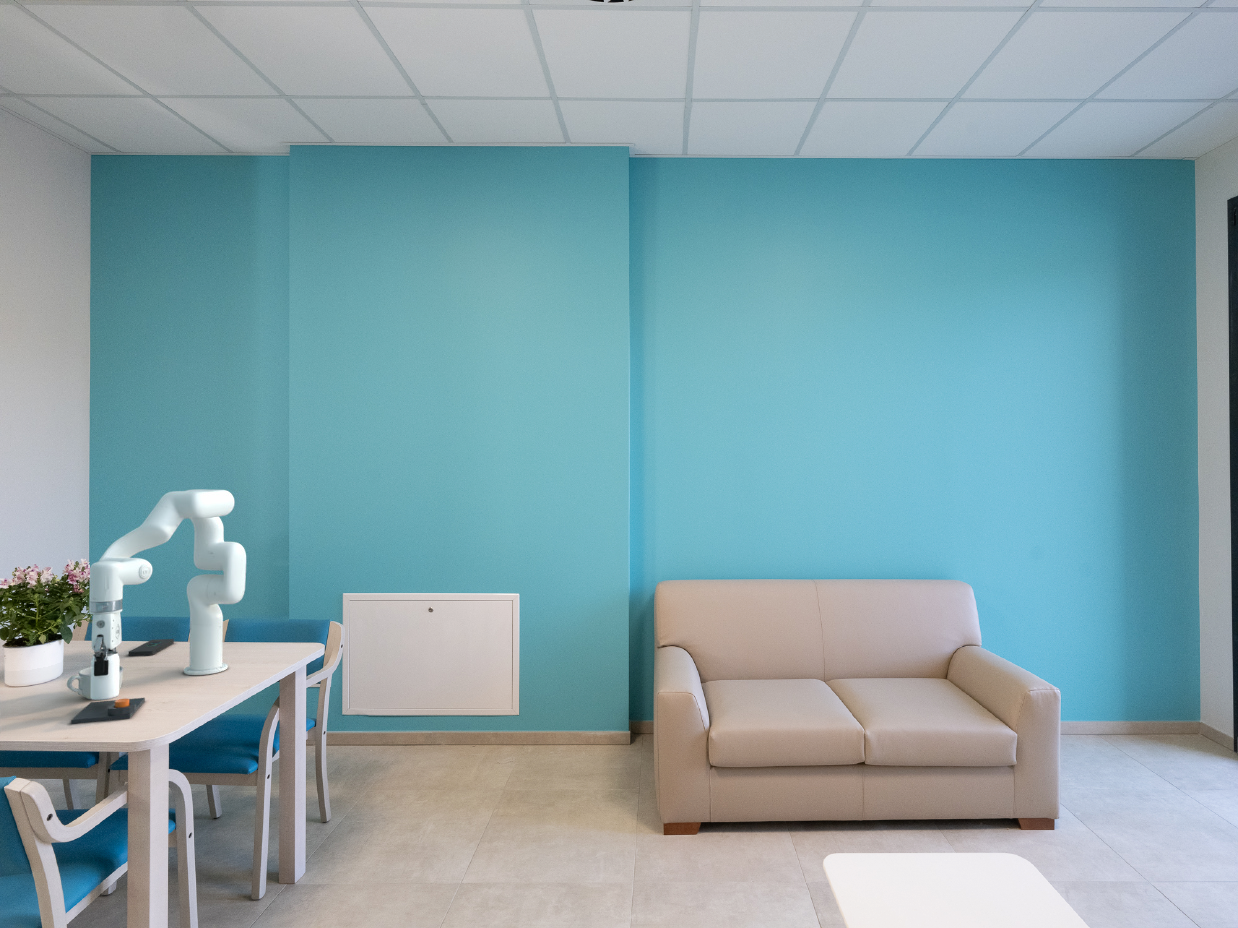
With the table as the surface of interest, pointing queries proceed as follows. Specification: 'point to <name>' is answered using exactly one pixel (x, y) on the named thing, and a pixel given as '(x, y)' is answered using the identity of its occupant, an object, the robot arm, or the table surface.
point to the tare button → (121, 703)
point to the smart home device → (151, 647)
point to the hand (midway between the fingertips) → (105, 671)
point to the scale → (107, 711)
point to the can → (106, 679)
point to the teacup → (87, 682)
